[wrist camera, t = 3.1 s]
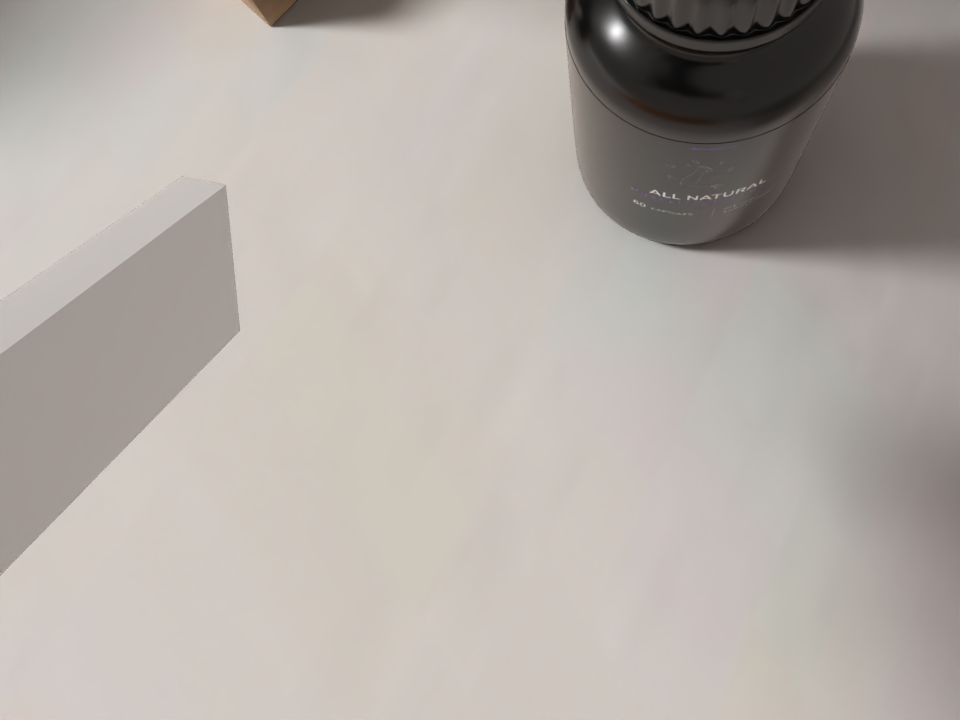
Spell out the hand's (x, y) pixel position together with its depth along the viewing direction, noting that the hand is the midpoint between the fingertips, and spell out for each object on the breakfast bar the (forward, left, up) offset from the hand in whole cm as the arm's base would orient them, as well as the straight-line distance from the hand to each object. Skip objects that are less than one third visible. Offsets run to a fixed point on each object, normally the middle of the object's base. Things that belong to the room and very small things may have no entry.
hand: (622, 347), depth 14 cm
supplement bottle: (-5, +8, -15) cm, 18 cm away
